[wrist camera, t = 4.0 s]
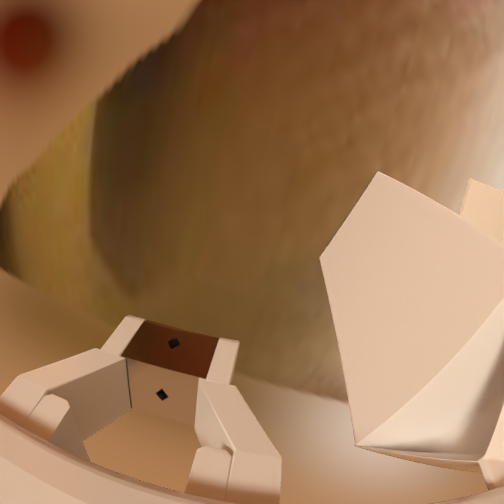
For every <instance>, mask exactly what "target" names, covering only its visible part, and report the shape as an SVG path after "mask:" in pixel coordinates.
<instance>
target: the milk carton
mask: <svg viewBox="0 0 504 504" xmlns="http://www.w3.org/2000/svg"><path fill="white" fill-rule="evenodd" d="M320 262H321V267H322V271H323V275H324V280H325V284H326V288H327V293H328V297H329V302H330V307H331V311H332V316H333V321H334V326H335V331H336V336H337V341H338V346H339V351H340V356H341V361H342V367H343V372H344V378H345V383H346V389H347V395H348V401H349V407H350V413H351V419H352V426H353V432H354V439H355V446H357V447H360V448H363V449H367V450H370V451H374V452H377V453H381V454H385V455H389V456H393V457H397V458H401V459H405V460H409V461H414V462H418V463H423V464H428V465H433V466H438V467H444V468H449V469H455V470H462V471H469V472H482V474H483V477H484V479H485V482H486V485H487V488H488V491H489V490H493V489H496V488H500V487H503V486H504V244H503V243H502V242H500V241H499V240H497V239H496V238H494V237H493V236H491V235H490V234H488V233H487V232H485V231H484V230H482V229H481V228H479V227H477V226H476V225H474V224H473V223H471V222H469V221H468V220H466V219H465V218H463V217H461V216H460V215H458V214H456V213H455V212H453V211H451V210H450V209H448V208H446V207H444V206H443V205H441V204H439V203H437V202H436V201H434V200H432V199H430V198H429V197H427V196H425V195H423V194H421V193H420V192H418V191H416V190H414V189H412V188H410V187H408V186H406V185H405V184H403V183H401V182H399V181H397V180H395V179H393V178H391V177H389V176H387V175H385V174H383V173H381V172H377V173H376V175H375V176H374V178H373V179H372V181H371V183H370V184H369V186H368V187H367V189H366V190H365V192H364V193H363V195H362V196H361V198H360V199H359V201H358V202H357V204H356V205H355V207H354V208H353V210H352V211H351V213H350V214H349V216H348V217H347V219H346V220H345V221H344V223H343V224H342V226H341V227H340V229H339V230H338V232H337V233H336V235H335V236H334V237H333V239H332V240H331V242H330V243H329V245H328V246H327V248H326V249H325V250H324V252H323V253H322V255H321V256H320Z"/></svg>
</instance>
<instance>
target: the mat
mask: <svg viewBox="0 0 504 504" xmlns="http://www.w3.org/2000/svg"><path fill="white" fill-rule="evenodd" d="M459 215H460V216H461V217H463V218H465V219H466V220H468V221H469V222H471V223H473V224H474V225H476V226H477V227H479V228H481V229H482V230H484V231H485V232H487V233H488V234H490V235H491V236H493V237H494V238H496V239H497V240H499V241H500V242H502V243H503V244H504V192H503V191H500V190H498V189H496V188H493V187H491V186H488V185H486V184H484V183H481V182H479V181H476V180H474V179H471V178H469V180H468V184H467V188H466V192H465V195H464V199H463V203H462V206H461V210H460V213H459Z"/></svg>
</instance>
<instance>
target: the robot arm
mask: <svg viewBox="0 0 504 504" xmlns="http://www.w3.org/2000/svg"><path fill="white" fill-rule="evenodd" d="M238 348H239V341H237V340H231V339H226V338H217V337H212V336H208V335H203V334H199V333H194V332H190V331H186V330H182V329H179V328H175V327H171V326H167V325H164V324H160V323H157V322H153V321H150V320H145V319H142V318H138V317H135V316H131V315H129V316H126V317H125V318H124V319H123V321H122V322H121V323H120V325H119V326H118V327H117V328H116V330H115V331H114V332H113V334H112V335H111V336H110V338H109V339H108V340H107V342H106V343H105V344H104V346H103V347H102V348H101V349H100V350H99V349H96V348H95V349H92V350H89V351H86V352H83V353H81V354H78V355H75V356H72V357H70V358H67V359H64V360H61V361H58V362H56V363H53V364H50V365H47V366H44V367H41V368H38V369H36V370H33V371H30V372H27V373H24V374H21V375H18V377H17V378H16V379H15V380H14V381H13V382H12V383H11V385H10V386H9V387H8V388H7V389H6V390H5V391H4V393H3V394H2V395H1V396H0V504H279V500H280V484H281V467H282V457H281V456H280V454H279V453H278V451H277V450H276V448H275V447H274V445H273V444H272V442H271V441H270V439H269V438H268V436H267V435H266V433H265V432H264V430H263V428H262V427H261V425H260V424H259V422H258V421H257V419H256V417H255V416H254V414H253V413H252V411H251V409H250V408H249V407H248V405H247V403H246V401H245V400H244V398H243V396H242V395H241V393H240V392H239V390H238V388H237V387H236V386H233V385H231V384H232V379H233V374H234V369H235V364H236V359H237V354H238ZM131 409H134V410H137V411H141V412H144V413H148V414H151V415H156V416H159V417H163V418H166V419H169V420H173V421H176V422H180V423H183V424H187V425H191V426H194V427H195V431H196V434H197V436H198V439H199V441H200V444H201V446H202V447H201V448H199V449H197V452H196V455H195V459H194V462H193V465H192V469H191V472H190V476H189V479H188V482H187V486H186V489H185V492H184V493H183V492H179V491H175V490H171V489H168V488H164V487H161V486H157V485H154V484H151V483H147V482H144V481H141V480H138V479H135V478H132V477H129V476H126V475H124V474H121V473H118V472H115V471H113V470H110V469H107V468H104V467H102V466H100V465H97V464H95V463H93V462H91V461H90V459H89V457H88V454H87V452H86V449H85V447H84V445H83V442H82V441H84V440H85V439H87V438H88V437H90V436H92V435H93V434H95V433H96V432H98V431H100V430H101V429H103V428H104V427H106V426H108V425H109V424H111V423H113V422H114V421H116V420H117V419H119V418H120V417H122V416H123V415H125V414H127V413H128V412H130V411H131ZM432 504H504V486H503V487H500V488H496V489H493V490H489V491H486V492H482V493H479V494H475V495H471V496H467V497H462V498H458V499H453V500H449V501H443V502H438V503H432Z"/></svg>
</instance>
